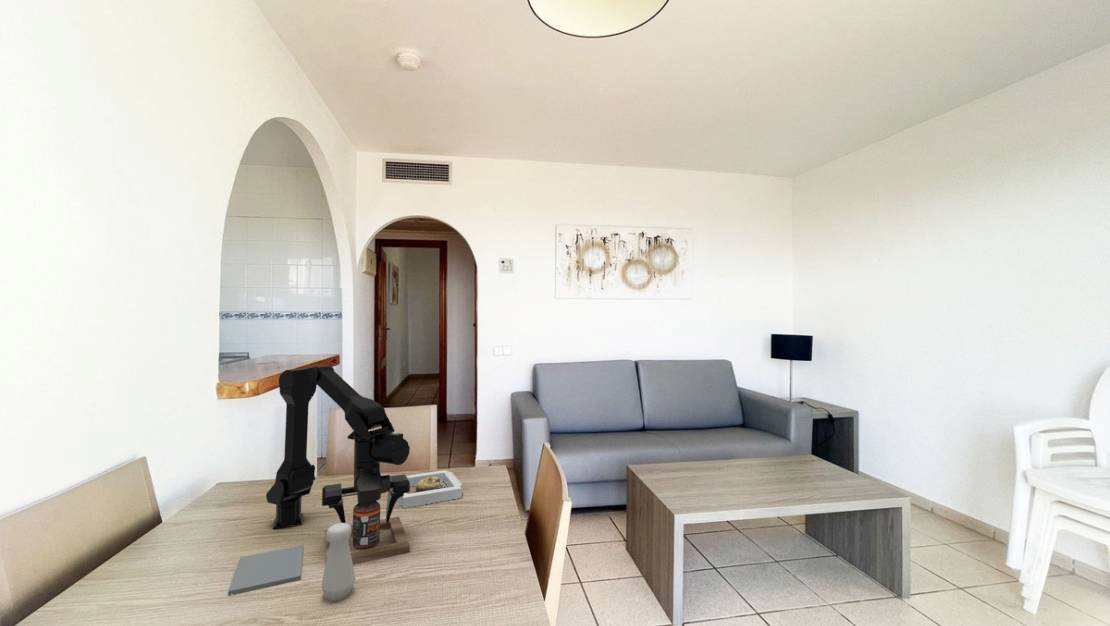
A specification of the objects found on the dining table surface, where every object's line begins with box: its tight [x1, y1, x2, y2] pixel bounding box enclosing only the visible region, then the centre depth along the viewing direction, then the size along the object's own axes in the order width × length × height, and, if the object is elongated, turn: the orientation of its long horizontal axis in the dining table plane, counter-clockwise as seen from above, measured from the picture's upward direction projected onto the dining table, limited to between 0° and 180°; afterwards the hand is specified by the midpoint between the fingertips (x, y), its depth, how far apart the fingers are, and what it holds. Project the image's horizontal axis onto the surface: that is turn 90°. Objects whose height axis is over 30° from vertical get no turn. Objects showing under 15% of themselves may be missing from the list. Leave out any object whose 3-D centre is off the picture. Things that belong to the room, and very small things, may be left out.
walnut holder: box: [325, 516, 411, 565], centre depth 106 cm, size 17×17×2 cm
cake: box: [414, 476, 444, 493], centre depth 138 cm, size 10×10×5 cm
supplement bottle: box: [351, 500, 381, 550], centre depth 106 cm, size 6×6×11 cm
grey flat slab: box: [227, 544, 304, 596], centre depth 95 cm, size 14×12×1 cm
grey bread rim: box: [396, 469, 464, 510], centre depth 138 cm, size 18×18×3 cm
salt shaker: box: [321, 522, 356, 602], centre depth 86 cm, size 6×6×13 cm
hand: (366, 526), depth 106 cm, fingers open, 9 cm apart
